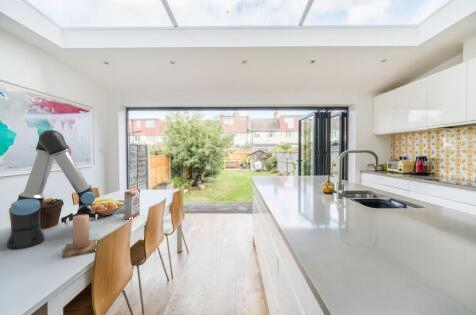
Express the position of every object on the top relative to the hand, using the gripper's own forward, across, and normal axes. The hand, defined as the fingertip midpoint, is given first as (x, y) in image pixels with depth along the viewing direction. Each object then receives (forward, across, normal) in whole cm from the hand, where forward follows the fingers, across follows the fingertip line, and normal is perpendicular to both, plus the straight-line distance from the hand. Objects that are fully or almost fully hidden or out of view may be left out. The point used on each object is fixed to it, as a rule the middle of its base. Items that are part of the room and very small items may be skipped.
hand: (82, 221), depth 124 cm
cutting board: (+9, 0, -12) cm, 15 cm away
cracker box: (-38, -30, -12) cm, 50 cm away
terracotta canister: (+9, 0, -10) cm, 14 cm away
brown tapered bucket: (-44, +22, -12) cm, 50 cm away
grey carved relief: (-57, -25, -13) cm, 64 cm away
